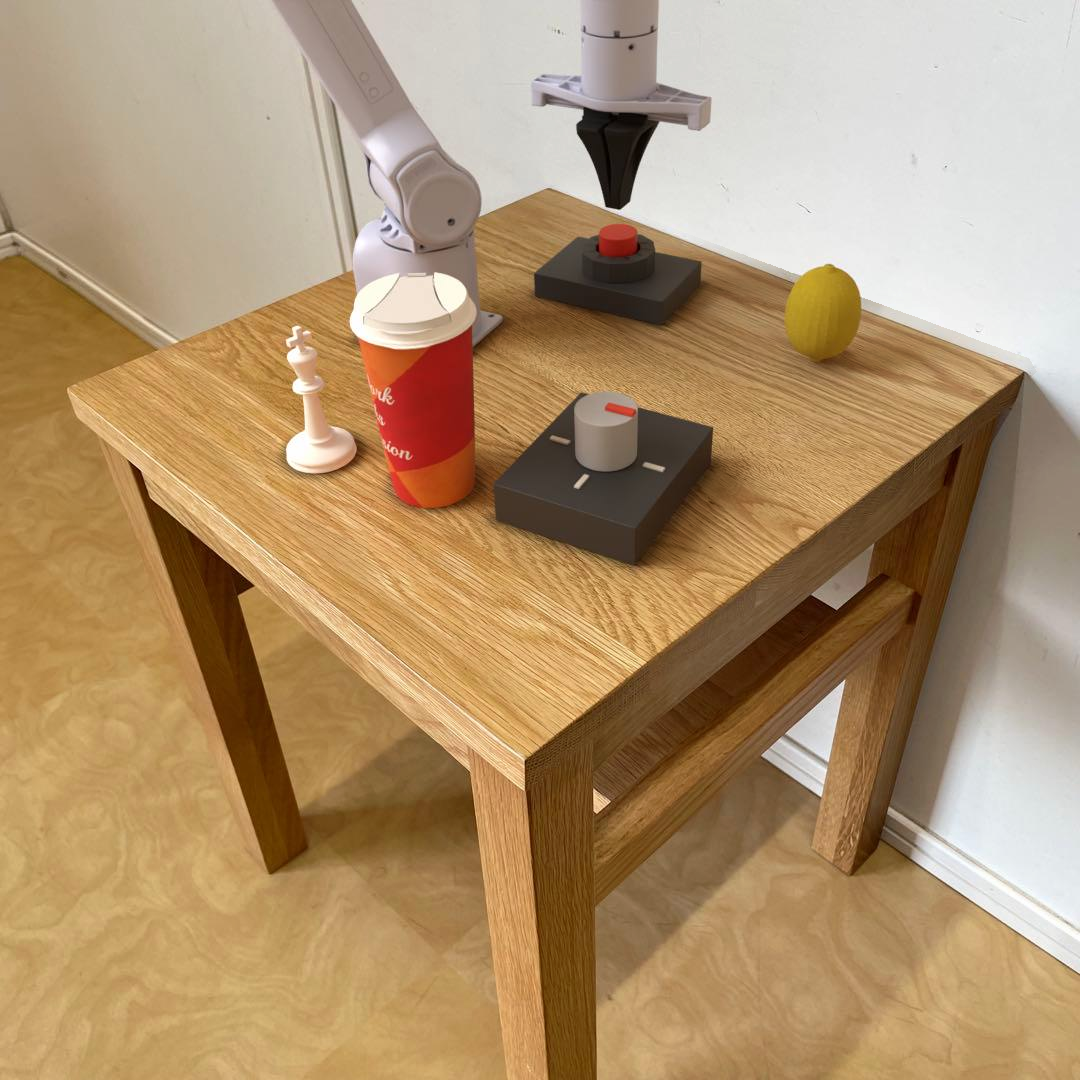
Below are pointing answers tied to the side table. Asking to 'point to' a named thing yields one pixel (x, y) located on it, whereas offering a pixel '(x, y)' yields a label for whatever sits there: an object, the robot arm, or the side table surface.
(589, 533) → the panel
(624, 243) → the power button
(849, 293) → the lemon
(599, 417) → the timer dial
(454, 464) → the paper cup
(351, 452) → the chess piece
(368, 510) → the side table surface
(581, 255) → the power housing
